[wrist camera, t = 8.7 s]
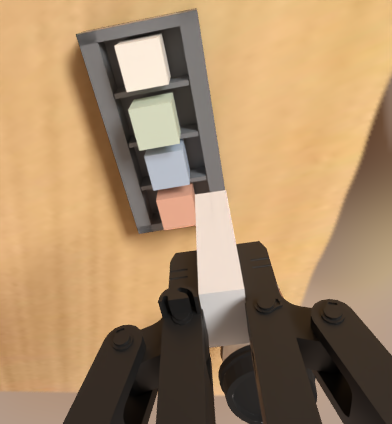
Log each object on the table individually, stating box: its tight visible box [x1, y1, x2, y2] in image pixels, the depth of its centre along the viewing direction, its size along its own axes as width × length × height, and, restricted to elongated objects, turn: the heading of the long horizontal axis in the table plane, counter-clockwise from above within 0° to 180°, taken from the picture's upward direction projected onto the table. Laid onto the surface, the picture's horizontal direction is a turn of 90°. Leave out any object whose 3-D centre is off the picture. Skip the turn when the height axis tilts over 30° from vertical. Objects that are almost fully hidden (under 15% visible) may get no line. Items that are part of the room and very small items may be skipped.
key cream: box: [114, 33, 171, 92], centre depth 27 cm, size 3×3×3 cm
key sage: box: [128, 92, 181, 151], centre depth 28 cm, size 3×3×3 cm
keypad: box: [76, 8, 225, 234], centre depth 32 cm, size 18×9×2 cm, turn 11°
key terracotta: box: [156, 182, 196, 230], centre depth 34 cm, size 3×3×3 cm
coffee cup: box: [218, 285, 317, 424], centre depth 36 cm, size 8×8×15 cm
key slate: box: [144, 139, 190, 191], centre depth 32 cm, size 3×3×3 cm
